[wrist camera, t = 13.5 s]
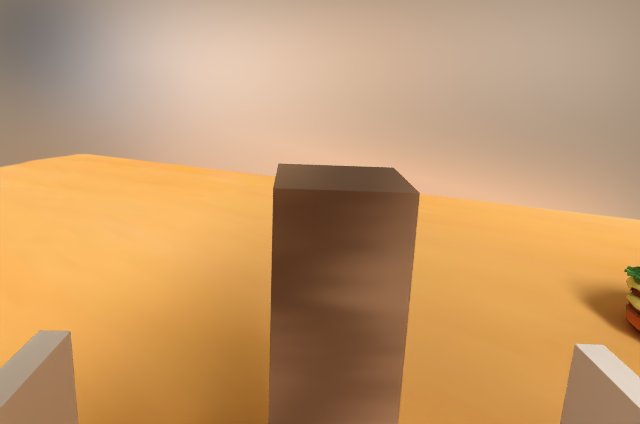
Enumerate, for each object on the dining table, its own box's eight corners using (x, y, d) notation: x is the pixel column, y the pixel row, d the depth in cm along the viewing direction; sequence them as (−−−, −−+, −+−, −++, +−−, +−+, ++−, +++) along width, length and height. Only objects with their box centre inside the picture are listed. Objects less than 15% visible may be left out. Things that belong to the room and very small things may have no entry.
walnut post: (364, 538, 22) (393, 167, 18) (378, 636, 18) (419, 193, 14) (270, 538, 22) (278, 163, 18) (264, 637, 18) (273, 188, 14)
